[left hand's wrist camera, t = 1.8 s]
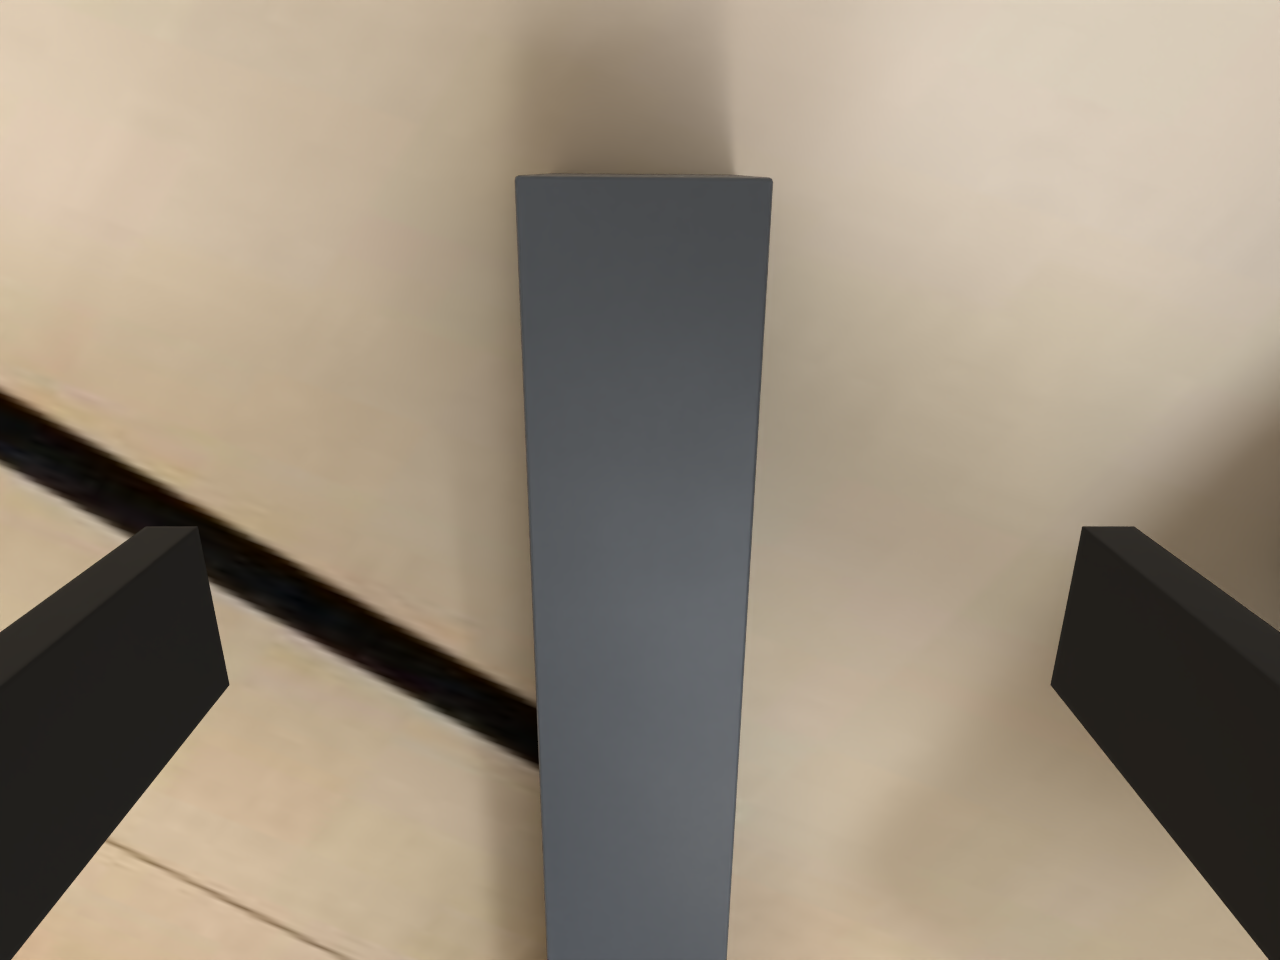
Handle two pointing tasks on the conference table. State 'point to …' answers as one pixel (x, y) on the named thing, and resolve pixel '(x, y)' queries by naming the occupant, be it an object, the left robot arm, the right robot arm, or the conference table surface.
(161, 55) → the conference table surface
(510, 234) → the conference table surface
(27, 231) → the conference table surface
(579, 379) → the post
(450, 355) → the conference table surface
